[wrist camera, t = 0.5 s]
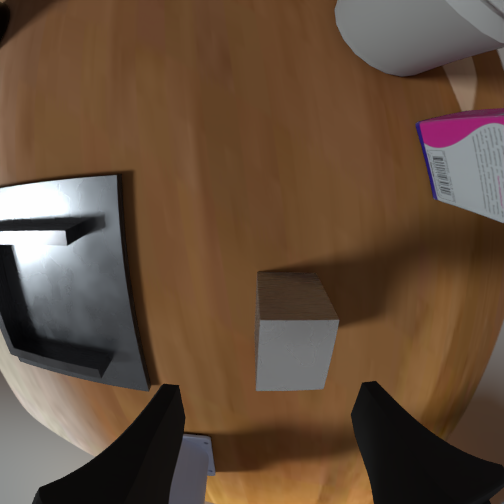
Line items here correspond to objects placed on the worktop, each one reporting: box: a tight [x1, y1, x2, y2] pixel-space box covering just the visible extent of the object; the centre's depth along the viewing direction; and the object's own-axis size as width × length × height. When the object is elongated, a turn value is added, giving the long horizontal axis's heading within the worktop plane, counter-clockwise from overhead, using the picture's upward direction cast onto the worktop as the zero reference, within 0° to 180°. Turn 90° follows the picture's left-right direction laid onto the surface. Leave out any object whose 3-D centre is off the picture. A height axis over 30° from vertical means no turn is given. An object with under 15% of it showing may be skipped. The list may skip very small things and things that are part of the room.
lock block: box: [255, 272, 339, 391], centre depth 18 cm, size 5×4×6 cm
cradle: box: [0, 174, 151, 391], centre depth 19 cm, size 18×16×3 cm
